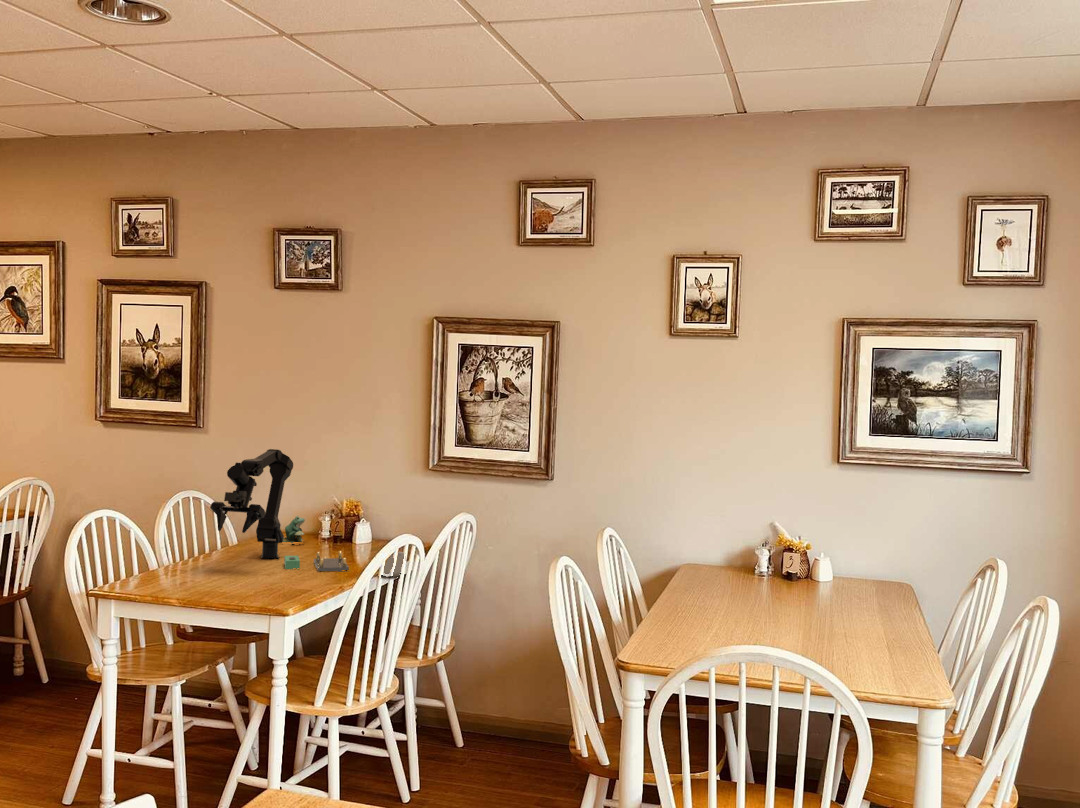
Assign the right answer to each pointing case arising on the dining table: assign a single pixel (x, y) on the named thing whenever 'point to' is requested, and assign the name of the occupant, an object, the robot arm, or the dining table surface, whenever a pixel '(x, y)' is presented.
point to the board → (291, 562)
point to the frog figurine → (294, 530)
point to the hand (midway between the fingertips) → (231, 531)
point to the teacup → (390, 562)
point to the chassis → (331, 563)
